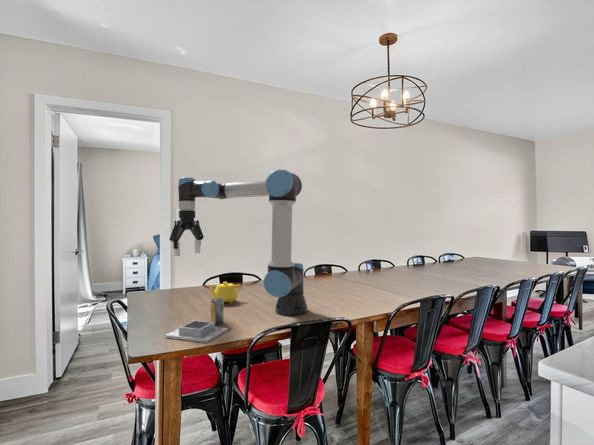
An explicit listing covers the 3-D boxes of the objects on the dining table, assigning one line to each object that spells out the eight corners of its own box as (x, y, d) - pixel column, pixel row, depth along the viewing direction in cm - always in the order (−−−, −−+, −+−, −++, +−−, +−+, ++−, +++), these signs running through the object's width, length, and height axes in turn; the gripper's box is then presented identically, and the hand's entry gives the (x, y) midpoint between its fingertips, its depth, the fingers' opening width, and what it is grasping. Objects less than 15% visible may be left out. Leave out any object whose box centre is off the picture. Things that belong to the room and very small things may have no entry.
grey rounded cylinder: (226, 321, 141) (225, 298, 141) (218, 326, 136) (218, 301, 136) (215, 320, 143) (215, 297, 143) (207, 324, 137) (207, 300, 137)
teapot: (207, 306, 167) (207, 285, 167) (206, 301, 177) (205, 281, 177) (243, 303, 173) (243, 282, 173) (239, 298, 183) (239, 279, 183)
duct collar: (227, 330, 130) (227, 321, 130) (206, 343, 117) (206, 333, 117) (189, 326, 136) (188, 317, 136) (165, 337, 123) (165, 328, 123)
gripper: (198, 210, 171) (199, 251, 171) (160, 209, 148) (161, 256, 148) (210, 210, 168) (211, 252, 168) (173, 209, 145) (174, 257, 145)
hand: (187, 254), depth 158 cm, fingers open, 13 cm apart
